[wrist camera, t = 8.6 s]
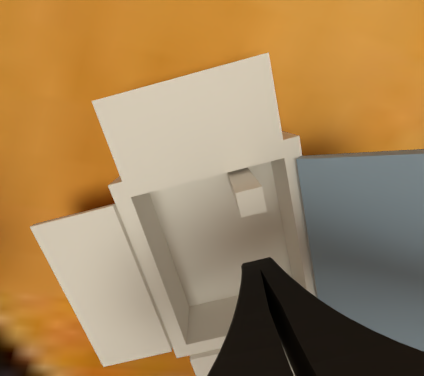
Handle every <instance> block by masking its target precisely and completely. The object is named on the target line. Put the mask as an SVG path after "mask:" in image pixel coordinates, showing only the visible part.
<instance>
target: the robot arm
mask: <svg viewBox="0 0 424 376" xmlns="http://www.w3.org/2000/svg"><path fill="white" fill-rule="evenodd" d="M241 269H242V275H241V285H240V290H239V296H238V300H237V304H236V308H235V312H234V315H233V319H232V322H231V325H230V328H229V330H228V333H227V336H226V338H225V340H224V343H223V345H222V347H221V350H220V352H219V354H218V356H217V358H216V360H215V362H214V364H213V366H212V367H211V369H210V371H209V373H208V375H207V376H294V375H295V376H424V351H421V350H418V349H416V348H413V347H410V346H408V345H405V344H403V343H400V342H398V341H395V340H393V339H391V338H389V337H386V336H384V335H382V334H380V333H377V332H375V331H373V330H371V329H369V328H367V327H365V326H363V325H362V324H360V323H358V322H356V321H354V320H352V319H350V318H348V317H346V316H345V315H343V314H341V313H340V312H338V311H336V310H335V309H333V308H332V307H330V306H328V305H327V304H325V303H324V302H322V301H321V300H320V299H318V298H317V297H315V296H314V295H313V294H311V293H310V292H309V291H307V290H306V289H305V288H304V287H302V286H301V285H300V284H299V283H297V282H296V281H295V280H294V279H293V278H292V277H290V276H289V275H288V274H287V273H286V272H285V271H284V270H283V269H282V268H281V267H280V266H279V265H278V264H277V263H276V262H275V261H274V260H273V259H272V258H271V257H268V258H264V259H259V260H255V261H251V262H246V263H243V264H242V265H241ZM283 348H284V349H283ZM285 353H286V354H285ZM286 355H287V357H286ZM287 358H288V359H287ZM288 360H289V362H288ZM289 363H290V364H289ZM290 365H291V367H292V369H291V367H290ZM292 370H293V372H294V374H293V372H292Z"/></svg>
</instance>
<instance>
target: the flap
mask: <svg viewBox="0 0 424 376" xmlns="http://www.w3.org/2000/svg"><path fill="white" fill-rule="evenodd" d="M296 161H297V168H298V174H299V180H300V187H301V193H302V200H303V206H304V213H305V219H306V225H307V232H308V238H309V245H310V251H311V258H312V264H313V271H314V277H315V283H316V290H317V296H318V299H320V300H321V301H322V302H324V303H325V304H327V305H328V306H330V307H332V308H333V309H335V310H336V311H338V312H340V313H341V314H343V315H345V316H346V317H348V318H350V319H352V320H354V321H356V322H358V323H360V324H362V325H363V326H365V327H367V328H369V329H371V330H373V331H375V332H377V333H380V334H382V335H384V336H386V337H389V338H391V339H393V340H395V341H398V342H400V343H403V344H405V345H408V346H410V347H413V348H416V349H418V350H421V351H424V149H417V150H399V151H381V152H363V153H344V154H326V155H308V156H300V157H299V158H297V159H296Z"/></svg>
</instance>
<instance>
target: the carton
mask: <svg viewBox="0 0 424 376" xmlns="http://www.w3.org/2000/svg"><path fill="white" fill-rule="evenodd" d="M92 103H93V106H94V109H95V111H96V114H97V117H98V119H99V122H100V124H101V127H102V130H103V132H104V135H105V138H106V140H107V143H108V146H109V148H110V151H111V153H112V156H113V159H114V161H115V164H116V167H117V169H118V172H119V175H120V176H119V177H118V178H117V179H115V180H114V181H113V182H112V183H110V184H109V185H108V187H109V190H110V192H111V195H112V197H113V200H114V202H115V204H111V205H107V206H103V207H99V208H95V209H91V210H87V211H83V212H80V213H76V214H72V215H68V216H64V217H60V218H56V219H52V220H48V221H44V222H40V223H37V224H33V225H32V226H31V227H30V228H31V230H32V232H33V234H34V236H35V238H36V240H37V242H38V244H39V245H40V247H41V249H42V251H43V253H44V255H45V257H46V259H47V261H48V263H49V264H50V266H51V268H52V270H53V272H54V274H55V276H56V278H57V280H58V282H59V283H60V285H61V287H62V289H63V291H64V293H65V295H66V297H67V299H68V301H69V302H70V304H71V306H72V308H73V310H74V312H75V314H76V316H77V318H78V320H79V321H80V323H81V325H82V327H83V329H84V331H85V333H86V335H87V337H88V338H89V340H90V342H91V344H92V346H93V348H94V350H95V352H96V354H97V356H98V357H99V359H100V361H101V363H102V365H103V367H105V366H110V365H114V364H119V363H123V362H128V361H132V360H136V359H141V358H145V357H150V356H154V355H158V354H163V353H167V352H172V347H173V350H174V352H175V355H176V357H177V358H180V357H184V356H189V355H190V362H191V364H192V367H193V369H194V372H195V375H196V376H207V375H208V373H209V371H210V369H211V367H212V366H213V364H214V362H215V360H216V358H217V356H218V354H219V352H220V350H221V347H222V345H223V343H224V340H225V338H226V336H227V333H228V330H229V328H230V325H231V322H232V319H233V315H234V312H235V308H236V304H237V300H238V296H239V290H240V285H241V275H242V269H241V265H242V264H243V263H246V262H251V261H255V260H259V259H264V258H268V257H271V258H272V259H273V260H274V261H275V262H276V263H277V264H278V265H279V266H280V267H281V268H282V269H283V270H284V271H285V272H286V273H287V274H288V275H289V276H290V277H292V278H293V279H294V280H295V281H296V282H297V283H299V284H300V285H301V286H302V287H304V288H305V289H306V290H307V291H309V292H310V293H311V294H313V295H314V296H315V297H317V298H318V296H317V290H316V283H315V277H314V271H313V264H312V258H311V251H310V245H309V238H308V232H307V225H306V219H305V213H304V206H303V200H302V193H301V187H300V180H299V174H298V168H297V161H296V159H297V158H299V157H300V156H302V150H301V144H300V137H299V136H298V135H295V134H291V133H287V132H284V131H282V130H281V124H280V118H279V112H278V106H277V100H276V94H275V88H274V82H273V76H272V70H271V64H270V58H269V53H265V54H262V55H258V56H254V57H251V58H247V59H243V60H240V61H236V62H232V63H229V64H225V65H222V66H218V67H214V68H211V69H207V70H203V71H200V72H196V73H193V74H189V75H185V76H182V77H178V78H174V79H171V80H167V81H163V82H160V83H156V84H153V85H149V86H145V87H142V88H138V89H134V90H131V91H127V92H124V93H120V94H116V95H113V96H109V97H105V98H102V99H98V100H94V101H92ZM283 349H284V348H283ZM285 354H286V353H285ZM286 357H287V355H286ZM287 359H288V358H287ZM288 362H289V360H288ZM289 364H290V363H289ZM290 367H291V365H290ZM291 369H292V367H291ZM292 372H293V370H292ZM293 374H294V372H293ZM294 376H295V375H294Z"/></svg>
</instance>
